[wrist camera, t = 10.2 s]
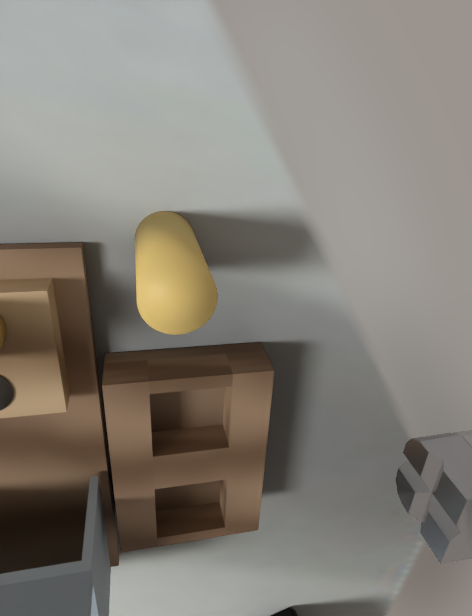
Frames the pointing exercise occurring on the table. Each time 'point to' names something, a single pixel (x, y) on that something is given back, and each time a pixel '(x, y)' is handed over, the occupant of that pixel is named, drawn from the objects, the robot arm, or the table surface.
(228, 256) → the table surface
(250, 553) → the table surface
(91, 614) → the cover
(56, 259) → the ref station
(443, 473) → the robot arm
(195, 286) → the pin
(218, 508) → the board
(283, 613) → the battery
